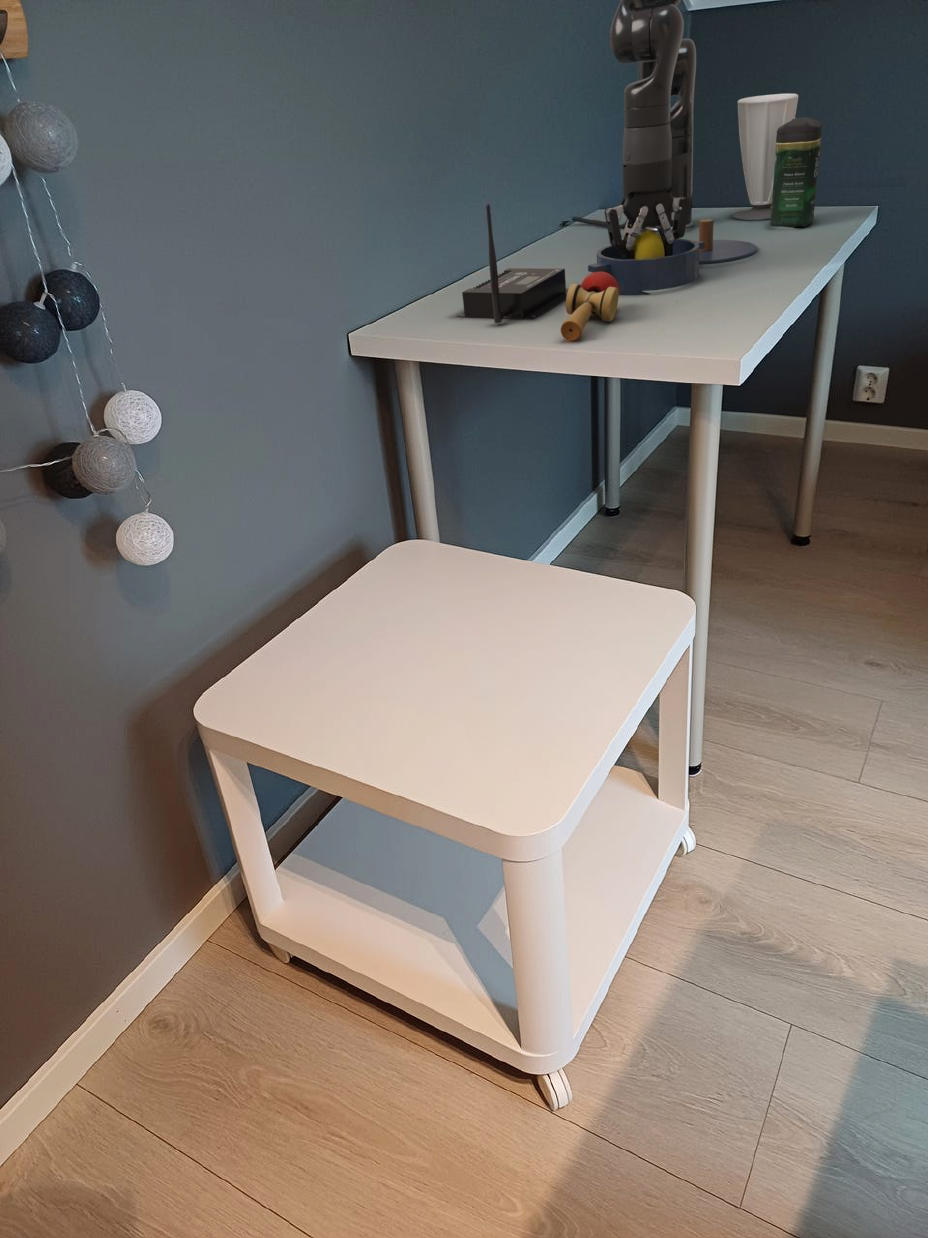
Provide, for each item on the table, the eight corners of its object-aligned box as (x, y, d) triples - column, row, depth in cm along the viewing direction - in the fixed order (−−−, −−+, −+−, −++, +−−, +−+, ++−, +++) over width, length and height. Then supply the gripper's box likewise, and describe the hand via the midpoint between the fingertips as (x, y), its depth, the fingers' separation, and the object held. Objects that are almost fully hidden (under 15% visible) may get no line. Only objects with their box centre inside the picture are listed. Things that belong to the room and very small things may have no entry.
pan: (565, 287, 159) (563, 255, 157) (669, 263, 167) (669, 231, 164) (622, 303, 147) (622, 268, 144) (732, 276, 154) (733, 241, 151)
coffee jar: (809, 228, 179) (819, 119, 169) (766, 229, 182) (773, 122, 173) (816, 218, 186) (826, 113, 177) (775, 220, 190) (782, 116, 180)
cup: (759, 222, 189) (765, 100, 178) (720, 217, 198) (724, 100, 187) (802, 212, 193) (811, 92, 182) (763, 207, 202) (769, 93, 191)
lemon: (627, 278, 159) (626, 228, 155) (659, 274, 159) (659, 224, 155) (634, 285, 154) (634, 234, 150) (668, 281, 154) (668, 229, 150)
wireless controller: (501, 291, 162) (492, 183, 153) (575, 292, 156) (570, 179, 147) (442, 323, 148) (428, 206, 139) (522, 326, 141) (512, 203, 132)
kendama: (604, 350, 131) (633, 298, 144) (593, 306, 128) (624, 257, 140) (552, 359, 135) (585, 307, 147) (540, 317, 131) (575, 268, 144)
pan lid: (636, 259, 172) (636, 224, 169) (711, 242, 178) (712, 207, 175) (698, 272, 159) (699, 234, 156) (777, 253, 165) (780, 215, 162)
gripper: (679, 149, 151) (678, 259, 160) (595, 161, 149) (598, 272, 158) (700, 152, 145) (697, 267, 154) (612, 165, 143) (614, 281, 152)
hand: (647, 269), depth 156 cm, fingers closed on lemon, 5 cm apart
